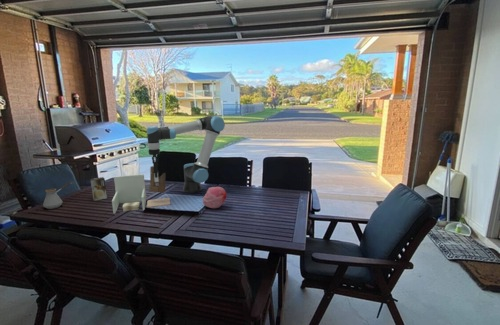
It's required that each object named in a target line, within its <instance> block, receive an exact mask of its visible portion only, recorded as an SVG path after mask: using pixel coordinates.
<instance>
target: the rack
mask: <svg viewBox="0 0 500 325" xmlns="http://www.w3.org/2000/svg"><path fill="white" fill-rule="evenodd" d="M113 180H114V188H115V194H114V195H113V198H112V200H111V206H112V214H113V215H114V214H116V213H117V210H118V208H119V205H120V204H124V203H133V202H141V206H142V211H144V210H146V204H147V202H146V201H147V194H146V184H145V183H146V182H145V175H144V174H142V173H141V174H131V175H130V174H129V175H120V176H113Z"/></svg>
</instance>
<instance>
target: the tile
mask: <svg viewBox="0 0 500 325" xmlns="http://www.w3.org/2000/svg"><path fill="white" fill-rule="evenodd" d="M146 201H147V202H146V208H155V207H165V206H171V204H172V203H171V198H170V197H162V198H156V199H155V198H154V199H149V200H147V199H146Z"/></svg>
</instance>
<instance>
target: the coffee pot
mask: <svg viewBox="0 0 500 325" xmlns="http://www.w3.org/2000/svg"><path fill="white" fill-rule="evenodd" d="M70 184H71V185H72V184H73V182H72V181H69V182H67V183H66V184H65V185H63V186H62V187H60V189H58V190H57V188H49V189H48V188H47V189H45V191H44V192H46V194H45V198H44V200H43V204H42V206H43V208H46V209H47V210H53V209H57V208H60V207H61V206H62V205H63V200H62V199H61V197H60V196H59V195H58V194H57V193H58V192H60V191H61V190H62V189H65V188H66V187H67V186H68V185H70Z"/></svg>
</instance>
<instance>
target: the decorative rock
mask: <svg viewBox="0 0 500 325" xmlns="http://www.w3.org/2000/svg"><path fill="white" fill-rule="evenodd" d="M227 195H228V193H227V192H226V190H225V189H224V188H223V187H221V186H212V187H208V189H207V190H206V193H205V195H204V196H203V198H202V204H203V205H204V206H205V207H207V208H210V209H213V210H214V209H218V208H220V207H221V206H222V205H223V204H224V203H225V202H226V199H227Z"/></svg>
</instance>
